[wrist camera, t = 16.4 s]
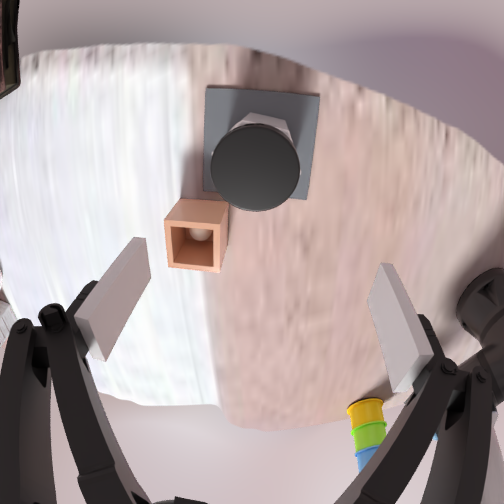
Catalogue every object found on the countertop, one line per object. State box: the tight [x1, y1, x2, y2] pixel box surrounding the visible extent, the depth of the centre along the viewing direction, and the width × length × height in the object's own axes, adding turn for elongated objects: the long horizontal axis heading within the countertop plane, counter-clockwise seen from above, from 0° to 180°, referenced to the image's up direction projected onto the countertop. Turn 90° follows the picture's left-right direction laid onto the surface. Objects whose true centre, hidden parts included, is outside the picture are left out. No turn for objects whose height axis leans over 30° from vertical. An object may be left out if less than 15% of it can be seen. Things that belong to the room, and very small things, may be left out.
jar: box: [210, 112, 301, 212], centre depth 31 cm, size 9×8×12 cm
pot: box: [164, 198, 229, 273], centre depth 40 cm, size 7×7×7 cm
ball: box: [189, 228, 212, 241], centre depth 41 cm, size 3×3×3 cm
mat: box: [203, 88, 320, 200], centre depth 36 cm, size 14×14×1 cm
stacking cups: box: [347, 398, 387, 473], centre depth 53 cm, size 10×10×35 cm
